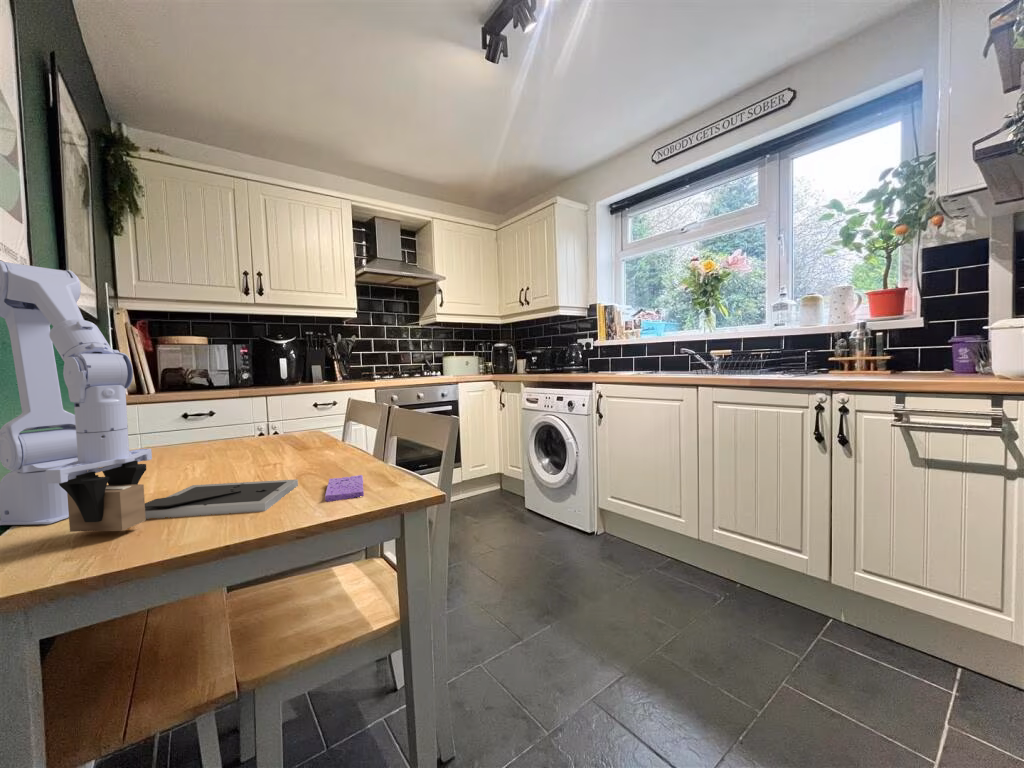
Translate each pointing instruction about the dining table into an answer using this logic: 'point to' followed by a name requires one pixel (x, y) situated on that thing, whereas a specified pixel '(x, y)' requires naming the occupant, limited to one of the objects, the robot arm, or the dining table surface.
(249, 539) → the dining table surface
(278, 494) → the picture frame
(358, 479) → the sponges
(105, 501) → the walnut block
